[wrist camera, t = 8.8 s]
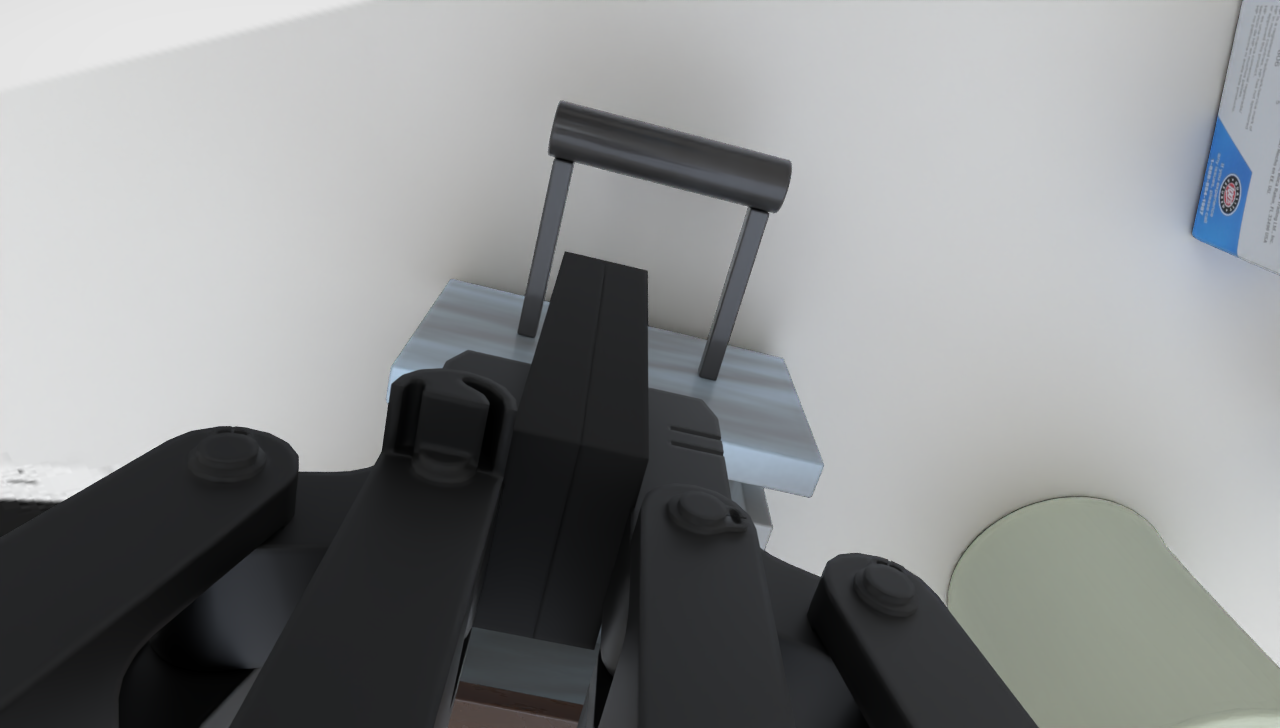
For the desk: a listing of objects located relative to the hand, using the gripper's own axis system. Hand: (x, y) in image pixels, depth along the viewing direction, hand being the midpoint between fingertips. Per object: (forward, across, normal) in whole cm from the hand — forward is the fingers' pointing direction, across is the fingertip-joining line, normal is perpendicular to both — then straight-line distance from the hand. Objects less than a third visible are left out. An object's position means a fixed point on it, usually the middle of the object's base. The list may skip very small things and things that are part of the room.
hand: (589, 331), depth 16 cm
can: (+15, +22, -13) cm, 30 cm away
